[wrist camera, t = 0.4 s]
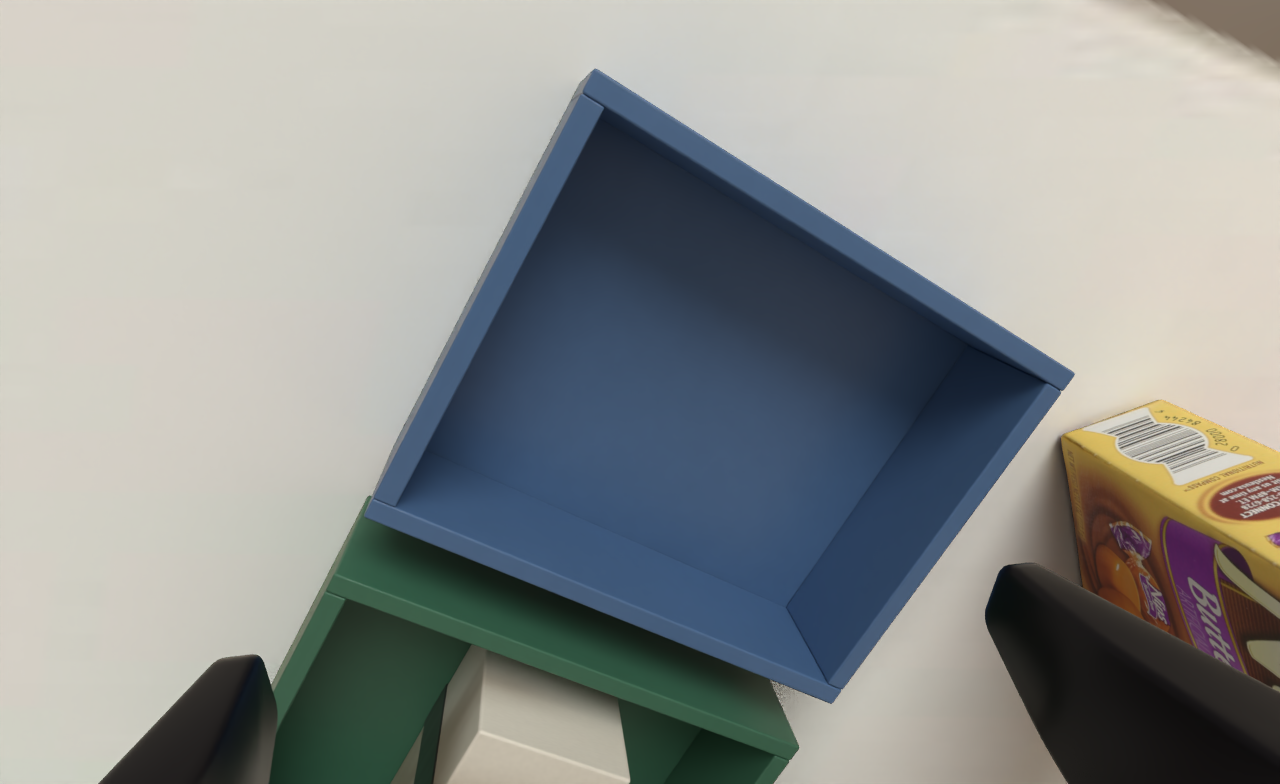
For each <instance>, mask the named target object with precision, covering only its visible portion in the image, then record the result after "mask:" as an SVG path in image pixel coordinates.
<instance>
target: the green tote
mask: <svg viewBox="0 0 1280 784" xmlns="http://www.w3.org/2000/svg"><path fill="white" fill-rule="evenodd" d="M371 497H372V496H368V497H367V499H366V501H365V503H364V505H363V507H362V509H361V511H360V513H359V515H358V517H357V519H356V521H355V523H354V524H353V526H352V528H351V530H350V532H349V534H348V536H347V538H346V540H345V542H344V544H343V546H342V548H341V550H340V552H339V554H338V556H337V558H336V560H335V562H334V563H333V565H332V567H331V569H330V571H329V573H328V575H327V577H326V579H325V581H324V583H323V585H322V587H321V589H320V591H319V593H318V595H317V597H316V599H315V601H314V602H313V604H312V606H311V608H310V610H309V612H308V614H307V616H306V618H305V620H304V622H303V624H302V626H301V628H300V630H299V632H298V634H297V636H296V638H295V640H294V642H293V643H292V645H291V647H290V649H289V651H288V653H287V655H286V657H285V659H284V661H283V663H282V665H281V667H280V669H279V671H278V673H277V675H276V677H275V679H274V681H273V682H272V684H271V687H272V690H273V693H274V697H275V700H276V704H277V711H278V721H277V730H276V737H275V744H274V751H273V758H272V765H271V772H270V779H269V784H391V782H392V780H393V779H394V777H395V775H396V773H397V772H398V770H399V768H400V767H401V765H402V763H403V761H404V760H405V758H406V756H407V755H408V753H409V751H410V749H411V748H412V746H413V744H414V742H415V741H416V739H417V737H418V736H419V734H420V732H421V730H422V729H423V727H424V723H425V720H426V718H427V716H428V715H429V713H430V711H431V709H432V708H433V706H434V704H435V703H436V701H437V699H438V697H439V696H440V694H441V692H442V690H443V689H444V687H445V685H446V684H449V682H450V681H451V679H452V677H453V675H454V674H455V672H456V670H457V669H458V667H459V665H460V663H461V662H462V660H463V658H464V657H465V655H466V653H467V651H468V650H469V648H470V646H471V645H475V646H478V647H481V648H483V649H486V650H489V651H492V652H494V653H497V654H500V655H503V656H505V657H508V658H511V659H513V660H516V661H519V662H522V663H524V664H527V665H530V666H533V667H535V668H538V669H541V670H544V671H546V672H549V673H552V674H555V675H557V676H560V677H563V678H566V679H568V680H571V681H574V682H577V683H579V684H582V685H585V686H587V687H590V688H593V689H596V690H598V691H601V692H604V693H607V694H609V695H612V696H615V697H617V698H618V704H619V711H620V717H621V723H622V729H623V736H624V742H625V748H626V755H627V761H628V767H629V774H630V783H629V784H773V783H774V782H775V780H776V779H777V778H778V776H779V775H780V774H781V772H782V771H783V770H784V768H785V767H786V765H787V764H788V763H789V760H791V759H792V757H793V756H794V755H795V753H796V752H797V751H798V749H799V745H798V743H797V741H796V738H795V736H794V734H793V731H792V729H791V727H790V725H789V722H788V720H787V718H786V716H785V713H784V711H783V709H782V707H781V704H780V702H779V700H778V698H777V695H776V693H775V691H774V689H773V686H772V684H771V682H770V680H769V679H768V678H765V677H763V676H760V675H758V674H755V673H753V672H750V671H748V670H745V669H743V668H740V667H738V666H735V665H733V664H730V663H728V662H725V661H723V660H720V659H718V658H715V657H713V656H710V655H708V654H705V653H703V652H700V651H698V650H695V649H693V648H690V647H688V646H685V645H683V644H680V643H678V642H675V641H673V640H670V639H668V638H665V637H663V636H660V635H658V634H655V633H653V632H650V631H648V630H645V629H643V628H640V627H638V626H635V625H633V624H630V623H628V622H625V621H623V620H620V619H618V618H615V617H613V616H610V615H608V614H605V613H603V612H600V611H598V610H595V609H593V608H590V607H588V606H585V605H583V604H580V603H578V602H575V601H573V600H570V599H568V598H565V597H563V596H560V595H558V594H555V593H553V592H550V591H548V590H545V589H543V588H540V587H538V586H535V585H533V584H530V583H528V582H525V581H523V580H520V579H518V578H515V577H513V576H510V575H508V574H505V573H503V572H500V571H498V570H495V569H493V568H490V567H488V566H485V565H483V564H480V563H478V562H475V561H473V560H470V559H468V558H465V557H463V556H460V555H458V554H455V553H453V552H450V551H447V550H445V549H442V548H440V547H437V546H435V545H432V544H430V543H427V542H425V541H422V540H420V539H417V538H415V537H412V536H410V535H407V534H405V533H402V532H400V531H397V530H395V529H392V528H390V527H387V526H385V525H382V524H380V523H377V522H375V521H372V520H370V519H367V518H365V517H364V514H365V511H366V509H367V507H368V504H369V502H370V500H371Z"/></svg>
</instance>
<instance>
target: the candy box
mask: <svg viewBox="0 0 1280 784" xmlns="http://www.w3.org/2000/svg"><path fill="white" fill-rule="evenodd" d="M1061 443H1062V450H1063V457H1064V461H1065V466H1066V471H1067V477H1068V484H1069V491H1070V498H1071V503H1072V511H1073V519H1074V524H1075V533H1076V541H1077V548H1078V555H1079V563H1080V571H1081V578H1082V584H1083V588H1085V589H1086V590H1088V591H1090V592H1092V593H1094V594H1096V595H1098V596H1100V597H1101V598H1103V599H1105V600H1107V601H1109V602H1111V603H1113V604H1115V605H1117V606H1118V607H1120V608H1122V609H1124V610H1126V611H1128V612H1130V613H1132V614H1134V615H1135V616H1137V617H1139V618H1141V619H1143V620H1145V621H1147V622H1149V623H1151V624H1152V625H1154V626H1156V627H1158V628H1160V629H1162V630H1164V631H1166V632H1167V633H1169V634H1171V635H1173V636H1175V637H1177V638H1179V639H1181V640H1183V641H1184V642H1186V643H1188V644H1190V645H1192V646H1194V647H1196V648H1198V649H1200V650H1201V651H1203V652H1205V653H1207V654H1209V655H1211V656H1213V657H1215V658H1217V659H1218V660H1220V661H1222V662H1224V663H1226V664H1228V665H1230V666H1232V667H1234V668H1235V669H1237V670H1239V671H1241V672H1243V673H1245V674H1247V675H1249V676H1250V677H1252V678H1254V679H1256V680H1258V681H1260V682H1262V683H1264V684H1266V685H1267V686H1269V687H1271V688H1273V689H1275V690H1277V691H1279V692H1280V452H1278V451H1275V450H1273V449H1271V448H1269V447H1267V446H1264V445H1262V444H1260V443H1258V442H1256V441H1254V440H1251V439H1249V438H1247V437H1245V436H1242V435H1240V434H1238V433H1236V432H1233V431H1231V430H1228V429H1226V428H1224V427H1222V426H1220V425H1218V424H1215V423H1213V422H1211V421H1209V420H1206V419H1204V418H1202V417H1199V416H1197V415H1195V414H1193V413H1191V412H1189V411H1187V410H1185V409H1183V408H1180V407H1178V406H1176V405H1173V404H1171V403H1169V402H1167V401H1164V400H1157V401H1154V402H1151V403H1148V404H1146V405H1143V406H1140V407H1137V408H1135V409H1132V410H1130V411H1127V412H1124V413H1121V414H1118V415H1115V416H1113V417H1110V418H1107V419H1105V420H1102V421H1099V422H1097V423H1094V424H1092V425H1089V426H1086V427H1083V428H1080V429H1077V430H1074V431H1071V432H1068V433H1065V434H1063V435H1062V436H1061Z"/></svg>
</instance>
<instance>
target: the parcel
mask: <svg viewBox="0 0 1280 784" xmlns="http://www.w3.org/2000/svg"><path fill="white" fill-rule="evenodd" d="M629 783H630V774H629V767H628V761H627V755H626V748H625V742H624V736H623V729H622V723H621V717H620V711H619V704H618V698H617V697H615V696H612V695H609V694H607V693H604V692H601V691H598V690H596V689H593V688H590V687H587V686H585V685H582V684H579V683H577V682H574V681H571V680H568V679H566V678H563V677H560V676H557V675H555V674H552V673H549V672H546V671H544V670H541V669H538V668H535V667H533V666H530V665H527V664H524V663H522V662H519V661H516V660H513V659H511V658H508V657H505V656H503V655H500V654H497V653H494V652H492V651H489V650H486V649H483V648H481V647H478V646H475V645H471V646H470V648H469V650H468V651H467V653H466V655H465V657H464V658H463V660H462V662H461V663H460V665H459V667H458V669H457V670H456V672H455V674H454V675H453V677H452V679H451V681H450V682H449V684H446V685H445V687H444V689H443V690H442V692H441V694H440V696H439V697H438V699H437V701H436V703H435V704H434V706H433V708H432V709H431V711H430V713H429V715H428V716H427V718H426V720H425V723H424V727H423V729H422V730H421V732H420V734H419V736H418V737H417V739H416V741H415V742H414V744H413V746H412V748H411V749H410V751H409V753H408V755H407V756H406V758H405V760H404V761H403V763H402V765H401V767H400V768H399V770H398V772H397V773H396V775H395V777H394V779H393V780H392V782H391V784H629Z"/></svg>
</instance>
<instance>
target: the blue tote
mask: <svg viewBox="0 0 1280 784" xmlns="http://www.w3.org/2000/svg"><path fill="white" fill-rule="evenodd" d="M1074 375H1075V374H1074V372H1072V371H1071V370H1069V369H1068V368H1066V367H1065V366H1063V365H1061V364H1060V363H1058V362H1057V361H1055V360H1054V359H1052V358H1050V357H1049V356H1047V355H1046V354H1044V353H1043V352H1041V351H1039V350H1038V349H1036V348H1035V347H1033V346H1032V345H1030V344H1028V343H1027V342H1025V341H1024V340H1022V339H1021V338H1019V337H1017V336H1016V335H1014V334H1013V333H1011V332H1010V331H1008V330H1006V329H1005V328H1003V327H1002V326H1000V325H999V324H997V323H995V322H994V321H992V320H991V319H989V318H988V317H986V316H984V315H983V314H981V313H980V312H978V311H977V310H975V309H973V308H972V307H970V306H969V305H967V304H966V303H964V302H962V301H961V300H959V299H958V298H956V297H955V296H953V295H951V294H950V293H948V292H947V291H945V290H944V289H942V288H940V287H939V286H937V285H936V284H934V283H933V282H931V281H929V280H928V279H926V278H925V277H923V276H922V275H920V274H918V273H917V272H915V271H914V270H912V269H911V268H909V267H907V266H906V265H904V264H903V263H901V262H900V261H898V260H896V259H895V258H893V257H892V256H890V255H889V254H887V253H885V252H884V251H882V250H881V249H879V248H878V247H876V246H874V245H873V244H871V243H870V242H868V241H867V240H865V239H863V238H862V237H860V236H859V235H857V234H856V233H854V232H852V231H851V230H849V229H848V228H846V227H845V226H843V225H841V224H840V223H838V222H837V221H835V220H834V219H832V218H830V217H829V216H827V215H826V214H824V213H823V212H821V211H819V210H818V209H816V208H815V207H813V206H812V205H810V204H808V203H807V202H805V201H804V200H802V199H801V198H799V197H797V196H796V195H794V194H793V193H791V192H790V191H788V190H786V189H785V188H783V187H782V186H780V185H779V184H777V183H775V182H774V181H772V180H771V179H769V178H768V177H766V176H764V175H763V174H761V173H760V172H758V171H757V170H755V169H753V168H752V167H750V166H749V165H747V164H746V163H744V162H742V161H741V160H739V159H738V158H736V157H735V156H733V155H731V154H730V153H728V152H727V151H725V150H724V149H722V148H720V147H719V146H717V145H716V144H714V143H713V142H711V141H709V140H708V139H706V138H705V137H703V136H702V135H700V134H698V133H697V132H695V131H694V130H692V129H691V128H689V127H687V126H686V125H684V124H683V123H681V122H680V121H678V120H676V119H675V118H673V117H672V116H670V115H669V114H667V113H665V112H664V111H662V110H661V109H659V108H658V107H656V106H654V105H653V104H651V103H650V102H648V101H647V100H645V99H643V98H642V97H640V96H639V95H637V94H636V93H634V92H632V91H631V90H629V89H628V88H626V87H625V86H623V85H621V84H620V83H618V82H617V81H615V80H614V79H612V78H610V77H609V76H607V75H606V74H604V73H603V72H601V71H599V70H598V69H594V70H593V71H592V72H591V73H590V74H589V75H588V76H587V77H586V78H585V79H584V80H583V81H582V82H580V84H579V86H578V88H577V90H576V92H575V93H574V95H573V97H572V99H571V101H570V103H569V105H568V107H567V109H566V111H565V113H564V115H563V117H562V119H561V121H560V123H559V125H558V127H557V129H556V131H555V132H554V134H553V136H552V138H551V140H550V142H549V144H548V146H547V148H546V150H545V152H544V154H543V156H542V158H541V160H540V162H539V164H538V166H537V168H536V170H535V171H534V173H533V175H532V177H531V179H530V181H529V183H528V185H527V187H526V189H525V191H524V193H523V195H522V197H521V199H520V201H519V203H518V205H517V207H516V209H515V210H514V212H513V214H512V216H511V218H510V220H509V222H508V224H507V226H506V228H505V230H504V232H503V234H502V236H501V238H500V240H499V242H498V244H497V246H496V248H495V249H494V251H493V253H492V255H491V257H490V259H489V261H488V263H487V265H486V267H485V269H484V271H483V273H482V275H481V277H480V279H479V281H478V283H477V285H476V287H475V288H474V290H473V292H472V294H471V296H470V298H469V300H468V302H467V304H466V306H465V308H464V310H463V312H462V314H461V316H460V318H459V320H458V322H457V324H456V326H455V328H454V329H453V331H452V333H451V335H450V337H449V339H448V341H447V343H446V345H445V347H444V349H443V351H442V353H441V355H440V357H439V359H438V361H437V363H436V365H435V367H434V368H433V370H432V372H431V374H430V376H429V378H428V380H427V382H426V384H425V386H424V388H423V390H422V392H421V394H420V396H419V398H418V400H417V402H416V404H415V406H414V407H413V409H412V411H411V413H410V415H409V417H408V419H407V421H406V423H405V425H404V427H403V429H402V431H401V433H400V435H399V437H398V439H397V441H396V443H395V445H394V446H393V449H392V451H391V453H390V456H389V458H388V460H387V463H386V465H385V467H384V470H383V472H382V474H381V477H380V479H379V481H378V484H377V486H376V488H375V490H374V493H373V495H372V497H371V500H370V502H369V504H368V507H367V509H366V511H365V514H364V517H365V518H367V519H370V520H372V521H375V522H377V523H380V524H382V525H385V526H387V527H390V528H392V529H395V530H397V531H400V532H402V533H405V534H407V535H410V536H412V537H415V538H417V539H420V540H422V541H425V542H427V543H430V544H432V545H435V546H437V547H440V548H442V549H445V550H447V551H450V552H453V553H455V554H458V555H460V556H463V557H465V558H468V559H470V560H473V561H475V562H478V563H480V564H483V565H485V566H488V567H490V568H493V569H495V570H498V571H500V572H503V573H505V574H508V575H510V576H513V577H515V578H518V579H520V580H523V581H525V582H528V583H530V584H533V585H535V586H538V587H540V588H543V589H545V590H548V591H550V592H553V593H555V594H558V595H560V596H563V597H565V598H568V599H570V600H573V601H575V602H578V603H580V604H583V605H585V606H588V607H590V608H593V609H595V610H598V611H600V612H603V613H605V614H608V615H610V616H613V617H615V618H618V619H620V620H623V621H625V622H628V623H630V624H633V625H635V626H638V627H640V628H643V629H645V630H648V631H650V632H653V633H655V634H658V635H660V636H663V637H665V638H668V639H670V640H673V641H675V642H678V643H680V644H683V645H685V646H688V647H690V648H693V649H695V650H698V651H700V652H703V653H705V654H708V655H710V656H713V657H715V658H718V659H720V660H723V661H725V662H728V663H730V664H733V665H735V666H738V667H740V668H743V669H745V670H748V671H750V672H753V673H755V674H758V675H760V676H763V677H765V678H768V679H770V680H773V681H775V682H778V683H780V684H783V685H785V686H788V687H790V688H793V689H795V690H798V691H800V692H803V693H805V694H808V695H810V696H813V697H815V698H818V699H820V700H823V701H825V702H828V703H830V704H832V703H833V702H834V700H835V699H836V698H837V696H838V695H839V694H840V692H841V689H843V688H844V687H845V686H846V684H847V683H848V682H849V680H850V679H851V677H852V676H853V675H854V673H855V672H856V671H857V669H858V668H859V667H860V665H861V664H862V663H863V661H864V660H865V658H866V657H867V656H868V654H869V653H870V652H871V650H872V649H873V648H874V646H875V645H876V644H877V642H878V641H879V640H880V638H881V637H882V635H883V634H884V633H885V631H886V630H887V629H888V627H889V626H890V625H891V623H892V622H893V621H894V619H895V618H896V616H897V615H898V614H899V612H900V611H901V610H902V608H903V607H904V606H905V604H906V603H907V602H908V600H909V599H910V598H911V596H912V595H913V593H914V592H915V591H916V589H917V588H918V587H919V585H920V584H921V583H922V581H923V580H924V579H925V577H926V576H927V574H928V573H929V572H930V570H931V569H932V568H933V566H934V565H935V564H936V562H937V561H938V560H939V558H940V557H941V556H942V554H943V553H944V551H945V550H946V549H947V547H948V546H949V545H950V543H951V542H952V541H953V539H954V538H955V537H956V535H957V534H958V532H959V531H960V530H961V528H962V527H963V526H964V524H965V523H966V522H967V520H968V519H969V518H970V516H971V515H972V514H973V512H974V511H975V509H976V508H977V507H978V505H979V504H980V503H981V501H982V500H983V499H984V497H985V496H986V495H987V493H988V492H989V490H990V489H991V488H992V486H993V485H994V484H995V482H996V481H997V480H998V478H999V477H1000V476H1001V474H1002V473H1003V472H1004V470H1005V469H1006V467H1007V466H1008V465H1009V463H1010V462H1011V461H1012V459H1013V458H1014V457H1015V455H1016V454H1017V453H1018V451H1019V450H1020V448H1021V447H1022V446H1023V444H1024V443H1025V442H1026V440H1027V439H1028V438H1029V436H1030V435H1031V434H1032V432H1033V431H1034V430H1035V428H1036V427H1037V425H1038V424H1039V423H1040V421H1041V420H1042V419H1043V417H1044V416H1045V415H1046V413H1047V412H1048V411H1049V409H1050V408H1051V407H1052V405H1053V404H1054V402H1055V401H1056V400H1057V398H1058V397H1059V396H1060V394H1061V391H1063V390H1064V389H1065V388H1066V386H1067V385H1068V384H1069V382H1070V381H1071V380H1072V378H1073V377H1074ZM1060 390H1061V391H1060Z"/></svg>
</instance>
